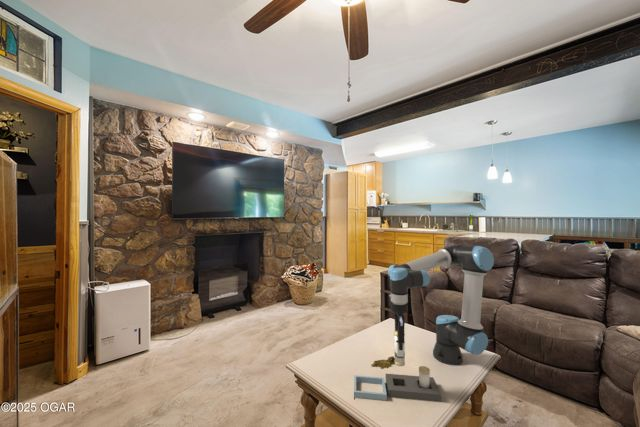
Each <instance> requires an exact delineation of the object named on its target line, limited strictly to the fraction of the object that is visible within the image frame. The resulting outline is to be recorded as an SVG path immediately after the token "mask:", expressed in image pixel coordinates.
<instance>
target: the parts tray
mask: <svg viewBox="0 0 640 427" xmlns="http://www.w3.org/2000/svg"><path fill="white" fill-rule="evenodd" d="M353 377H354V378H353V400H354V401H355V400H356V399H367V400H377V401H387V399H388V397H387V396H388V392H387V386H386V380H385V378H384V377H378V376H366V375H353ZM357 383H366V384H379V385H381V387H382V392H377V391H364V390H357Z"/></svg>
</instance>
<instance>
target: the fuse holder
mask: <svg viewBox="0 0 640 427" xmlns="http://www.w3.org/2000/svg"><path fill="white" fill-rule="evenodd" d="M385 386H386V392H387V396H388V397H387V398H398V399H408V400H418V401H428V402H429V401H431V402H438V403H441V402H442V392H441V391H440V389H439V387H438V385H437V383H436V380H435V379H434V376H433V377H431V376H430V389H427V388H419V375H408V374H407V375H406V374H396V373H395V374H394V373H385Z"/></svg>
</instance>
